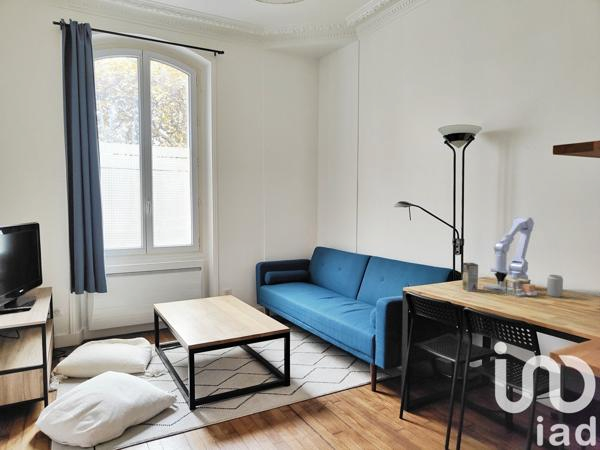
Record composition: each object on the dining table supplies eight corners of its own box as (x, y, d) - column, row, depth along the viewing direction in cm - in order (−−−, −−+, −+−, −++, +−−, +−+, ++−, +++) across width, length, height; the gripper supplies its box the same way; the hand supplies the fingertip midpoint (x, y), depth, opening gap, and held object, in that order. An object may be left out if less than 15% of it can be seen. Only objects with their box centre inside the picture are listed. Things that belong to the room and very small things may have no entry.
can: (561, 295, 243) (562, 274, 242) (563, 298, 236) (564, 276, 235) (546, 294, 246) (547, 273, 245) (547, 297, 239) (548, 275, 239)
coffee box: (461, 288, 263) (462, 262, 262) (472, 288, 263) (472, 262, 262) (467, 291, 254) (467, 264, 253) (478, 291, 254) (478, 264, 253)
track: (500, 286, 268) (500, 283, 268) (537, 295, 243) (537, 291, 243) (482, 288, 263) (482, 284, 263) (519, 297, 238) (519, 292, 238)
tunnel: (519, 289, 254) (520, 277, 253) (530, 291, 247) (530, 279, 247) (503, 291, 249) (504, 279, 249) (513, 293, 242) (514, 281, 242)
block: (528, 291, 243) (528, 283, 243) (534, 292, 239) (535, 285, 239) (522, 292, 242) (522, 284, 242) (529, 293, 238) (529, 285, 238)
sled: (505, 287, 259) (505, 281, 259) (536, 294, 239) (536, 287, 238) (499, 288, 257) (499, 281, 257) (530, 295, 237) (530, 288, 237)
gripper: (486, 261, 264) (486, 283, 264) (505, 264, 250) (505, 287, 251) (495, 261, 266) (495, 282, 267) (514, 264, 253) (514, 286, 253)
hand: (500, 284), depth 259 cm, fingers closed
